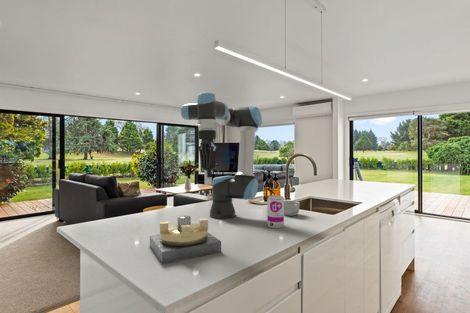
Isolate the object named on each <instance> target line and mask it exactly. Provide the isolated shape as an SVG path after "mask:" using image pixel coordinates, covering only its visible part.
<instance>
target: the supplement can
mask: <svg viewBox="0 0 470 313" xmlns="http://www.w3.org/2000/svg"><path fill="white" fill-rule="evenodd" d="M266 201H267V202H266V205H267V206H266V210H267V211H266V214H267V215H266V218H267V219H266V220H267V221H266V222H267V223H266V224H267V226H268V227H269V228H271V229H281V228H283V227H284V226H285V215H284V201H285V199H284V197H283V195H277V194H276V195H275V194H273V195H272V194H271V195H268V197H267V199H266Z"/></svg>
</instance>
